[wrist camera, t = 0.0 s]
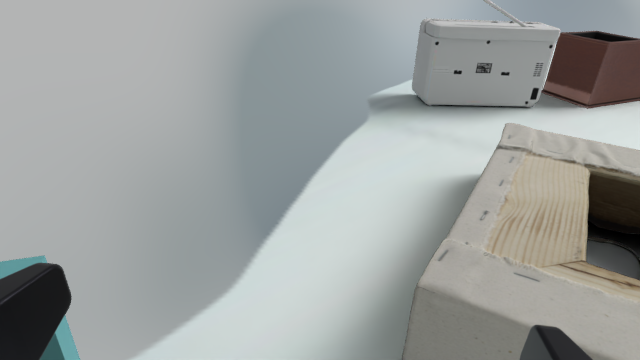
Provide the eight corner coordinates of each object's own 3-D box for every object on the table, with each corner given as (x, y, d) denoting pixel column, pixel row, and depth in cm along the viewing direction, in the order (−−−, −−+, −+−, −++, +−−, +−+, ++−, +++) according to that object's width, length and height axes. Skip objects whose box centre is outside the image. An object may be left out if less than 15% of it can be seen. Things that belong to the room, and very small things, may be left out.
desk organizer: (537, 92, 82) (555, 31, 77) (634, 81, 93) (655, 26, 88) (587, 110, 74) (611, 43, 68) (686, 95, 85) (714, 36, 79)
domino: (88, 423, 23) (35, 278, 18) (-23, 450, 21) (-112, 301, 17) (92, 396, 24) (44, 255, 19) (-12, 420, 23) (-91, 274, 18)
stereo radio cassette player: (520, 95, 79) (552, -24, 70) (542, 110, 72) (581, -20, 62) (409, 93, 78) (426, -29, 68) (420, 108, 71) (441, -26, 61)
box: (955, 651, 17) (738, 236, 41) (1140, 562, 13) (781, 164, 38) (394, 383, 27) (489, 176, 51) (409, 289, 23) (503, 115, 48)
